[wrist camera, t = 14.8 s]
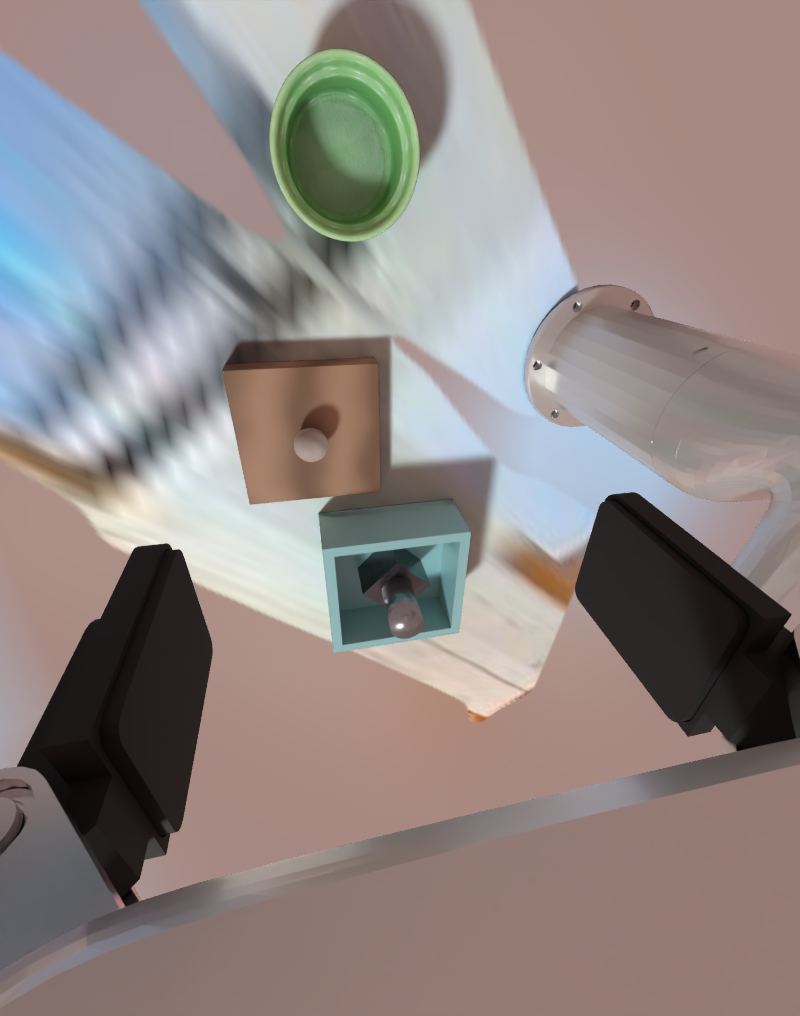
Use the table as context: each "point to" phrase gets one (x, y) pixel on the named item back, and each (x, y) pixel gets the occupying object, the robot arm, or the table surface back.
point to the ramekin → (344, 145)
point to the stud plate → (306, 427)
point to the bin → (412, 526)
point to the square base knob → (396, 588)
